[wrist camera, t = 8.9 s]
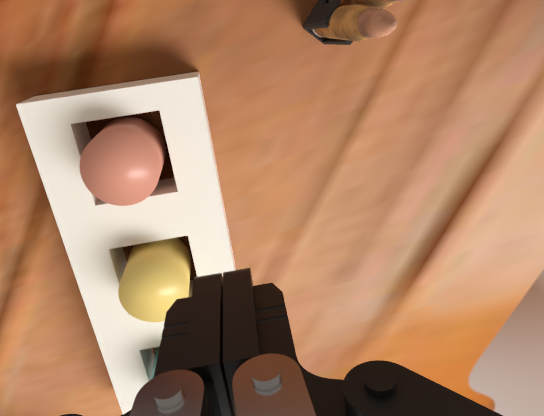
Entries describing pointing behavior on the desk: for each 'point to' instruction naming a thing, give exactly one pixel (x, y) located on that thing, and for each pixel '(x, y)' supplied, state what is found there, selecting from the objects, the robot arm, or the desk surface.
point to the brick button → (123, 161)
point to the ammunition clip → (350, 20)
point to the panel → (134, 218)
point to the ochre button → (155, 278)
